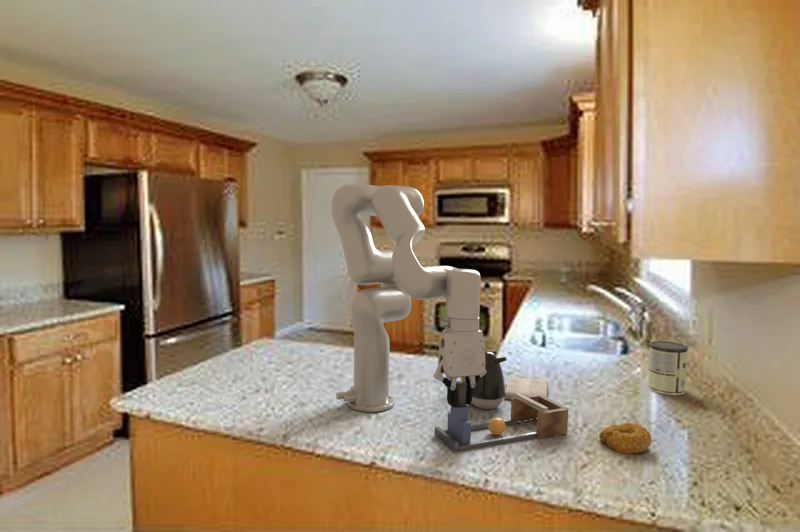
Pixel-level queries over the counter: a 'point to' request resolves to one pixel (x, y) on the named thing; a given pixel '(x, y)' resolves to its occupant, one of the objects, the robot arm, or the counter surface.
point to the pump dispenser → (490, 384)
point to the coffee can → (667, 367)
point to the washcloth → (526, 387)
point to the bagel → (626, 438)
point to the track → (455, 447)
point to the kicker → (460, 416)
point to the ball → (496, 426)
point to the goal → (540, 414)
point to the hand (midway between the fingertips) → (459, 403)
